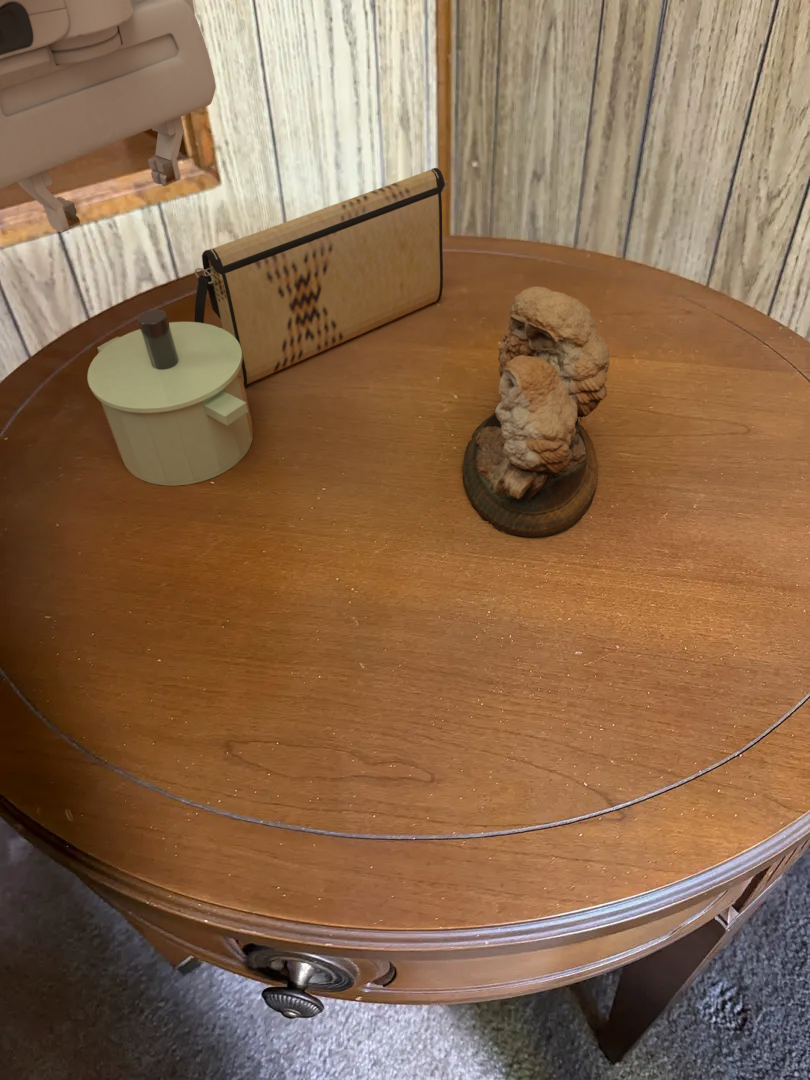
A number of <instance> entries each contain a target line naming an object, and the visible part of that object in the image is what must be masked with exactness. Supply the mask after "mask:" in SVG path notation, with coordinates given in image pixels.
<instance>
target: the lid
mask: <svg viewBox="0 0 810 1080" xmlns="http://www.w3.org/2000/svg"><path fill="white" fill-rule="evenodd" d="M137 322H138V323H137V324H138V326H139V329H136V330H133V331H131V332H128V333H126V334H124V335H122V336H119V337H120V338H118V339H116V340H115V341H113V342H111V343H110V344H109V345H107V346H106V347H105V348H104V349H102V350H101V351H100V352H98V353H97V354H96V355H95V357H94V358H93V359H92V361H91V362H90V365H89V367H88V370H87V374H86V375H87V377H86V378H87V383H88V387H89V390H90V391H91V393H92V395H93V396H94V397H95V398H96V399H97V400H98V401H99V402H100V401H101V402H102V403H104V404H106V405H108V406H110V407H112V408H115V409H118V410H122V411H127V412H135V413H158V412H165V411H172V410H176V409H181V408H184V407H188V406H191V405H194V404H196V403H199V402H201V401H203V400H206V399H208V398H210V397H211V396H213V395H215V394H217V393H218V392H220V391H221V390H222V389H224V388H225V387H226V386H227V385H228V384H230V383H231V382H232V380H233V379H234V378H235V377H236V375H237V374H238V372H239V370H240V368H241V366H242V361H243V355H242V350H241V346H240V344H239V342H238V341H237V339H236V338H235V337H234V336H233V335H232V334H230V333H229V332H227V331H226V330H224V329H223V327H219V326H217V325H213V324H210V323H205V322H204V323H199V322H194V321H172V322H169V319H168V313H166V311H164V310H162V309H149V310H145V311H143V312H142V313H140V314H138V317H137Z"/></svg>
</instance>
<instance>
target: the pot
mask: <svg viewBox="0 0 810 1080" xmlns="http://www.w3.org/2000/svg"><path fill="white" fill-rule="evenodd" d="M120 337H121V336H116V337H114V338H112V339H110V340H109V341H106V342H104V343H103V344H101V345H99V346H97V347H96V348H97V351H98V353H99V352H100V351H101V350H102V349H104V348H105V347H106V346H107V345H109V344H110V343H111V342H113V341H115V340H116V339H118V338H120ZM99 403H100V405H101V409H102V411H103V413H104V416H105V419H106V421H107V425H108V427H109V429H110V432H111V435H112V437H113V438H112V439H113V440H114V441H113V442H114V444H115V446H116V448H117V452H118V454H119V456H120V458H121V461H122V463H123V466H124V467H125V468H126V470H127V471H128V472H129V473H130V474H131V475H133V476H134V477H135V478H137V479H138V480H140V481H143V482H146V483H149V484H152V485H157V486H158V485H159V486H167V487H169V486H170V487H175V486H178V487H179V486H187V485H188V486H189V485H193V484H197V483H202V482H205V481H207V480H211V479H213V478H216V477H218V476H220V475H222V474H224V473H226V472H227V471H229V470H230V469H232V468H233V467H234V466H236V465H237V464H238V463H239V462H241V461H242V459H243V458H244V457H245V455H247V453H248V451H249V450H250V449H251V445H252V443H253V438H254V430H253V419H252V415H251V411H250V407H249V406H250V405H249V402H248V396H247V392H246V387H244V383H243V378H242V374H241V369H240V370H239V372H238V374H237V375H236V377H235V378H234V379H233V380H232V382H231V383H230V384H228V385H227V386H226V387H225V388H224V389H222V390H221V391H220V392H218V393H217V394H215V395H213V396H211V397H210V398H208V399H206V400H203V401H201V402H199V403H196V404H194V405H191V406H188V407H184V408H181V409H176V410H172V411H165V412H158V413H135V412H127V411H122V410H118V409H115V408H112V407H110V406H108V405H106V404H104V403H102V402H101V401H100V400H99Z"/></svg>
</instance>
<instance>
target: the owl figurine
mask: <svg viewBox="0 0 810 1080" xmlns="http://www.w3.org/2000/svg"><path fill="white" fill-rule="evenodd" d="M509 317H510V318H509V320H508V328H507V330H505V331H504V334H503V335H501V337H500V343H499V346H498V359H497V361H498V362H499V366H498V373H499V377H500V380H499V382H498V395H499V396H500V397H501V400H500V402H499V403H498V404H496V405H497V406H496V408H495V411H494V413H492V414H491V415H490V416H488V417H487V418H486V419H484V420H483V421H482V422H481V424H479V425H478V426H477V427H476V429H475V430H474V432H473V433H472V435H471V438H470V439H469V440H468V443H467V445H466V448H465V451H464V453H463V460H462V475H463V476H462V481H463V485H464V489H465V492H466V496H467V498H468V500H469V501H470V503H471V505H472V507H473V508H474V509H475V510H476V512H477V513H478V515H479V516H480V517H481V519H484V520H486V521H488V522H489V523H492V524H493V527H494V528H496V529H498V530H499V531H501V532H503V533H505V534H508V535H515V536H520V537H521V536H522V537H524V538H525V537H526V538H544V537H548V536H554V535H556V534H560V533H564V532H566V531H568V530H569V529H570V528H572V527H574V526H575V525H576V524H577V523H578V522H579V521H580V520H581V519H582V518H583V516H584V515H585V514H586V512H587V511H588V510H589V508H590V506H591V505H592V503H593V501H594V496H595V494H596V492H597V491H596V490H597V485H598V479H599V478H598V477H599V465H598V458H597V453H596V449H595V446H594V442H593V441H592V438H591V436H590V435H589V434H588V431H587V429H585V427H584V426H583V425H582V424H581V423H580V421H582V419H583V418H585V417H588V416H589V415H590V414H591V413H592V412H593V411H594V410H596V409H597V407H598V406H599V404H600V403H601V401H603V400H605V398H606V397H607V395H608V392H607V391H608V388H607V386H606V382H607V381H608V377H607V374H608V371H609V366H610V363H611V361H610V351H609V346H608V344H607V341H606V340H605V339H604V338H603V336H601V335H599V334H598V331H597V327H598V326H597V322H596V320H595V318H593V315H592V313H591V311H590V308H589V307H587V305H585V304H584V303H582V301H580V300H578V299H577V297H576V298H575V297H573V296H570V294H566V293H564V292H560V291H553V290H551V288H548V287H545V286H538V285H535V286H531V287H528V288H525V289H523V290H521V291H520V292H519V293H518V294H517V295H515V296H514V298H513V302H512V304H511V308H510V311H509Z"/></svg>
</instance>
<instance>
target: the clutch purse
mask: <svg viewBox="0 0 810 1080" xmlns="http://www.w3.org/2000/svg"><path fill="white" fill-rule="evenodd" d="M448 186H449V182H448V180H445V179H444V175H443V173H442V170H440V169H439V167H433V168H430V169H429V170H426V171H424V172H421V173H418V174H416V175H412V176H410V177H407V178H404V179H401V180H398V181H396V182H393V183H389V184H388V185H385V186H382V187H379V188H377V189H373V190H371V191H368V192H366V193H363V194H360V195H357V196H355V197H352V198H349V199H346V200H343V201H340V202H337V203H334V204H332V205H329V206H326V207H324V208H321V209H318V210H316V211H312V212H310V213H307V214H304V215H302V216H299V217H296V218H294V219H290V220H288V221H285V222H282V223H279V224H277V225H274V226H271V227H268V228H265V229H263V230H260V231H257V232H255V233H254V232H253V233H252V234H251V233H250V234H249V235H246V236H243V237H240V238H238V239H236V240H232V241H230V242H226V243H224V244H221V245H219V246H216V247H213V248H210V249H205V250H204V251H202V254H201V263H202V267H197V268H195V269H194V275H195V276H196V278H197V287H196V293H195V301H194V317H193V318H194V321H193V322H199V323H205V311H206V301H207V293H208V296H209V299H210V300H209V301H210V306H211V309H212V310H213V312H214V314H215V315H216V316H217V317H218V318H219V320H220V323H221V328H222V329H224V330H226V331H227V332H229V333H230V334H232V335H233V336H234V337H235V338H236V339H237V341H238V342H239V344H240V346H241V350H242V355H243V361H242V366H241V368H240V369H241V374H242V378H243V383H244V387H245V388H246V387H247V385H249V384H252V383H254V382H256V381H258V380H261V379H263V378H266V377H268V376H270V375H272V374H275V373H277V372H279V371H281V370H283V369H286V368H288V367H290V366H293V365H294V364H297V363H300V362H302V361H304V360H306V359H308V358H310V357H313V356H315V355H318V354H320V353H323V352H324V351H326V350H329V349H331V348H333V347H336V346H338V345H341V344H342V343H344V342H346V341H347V342H348V341H349V340H352V339H353V338H356V337H358V336H360V335H362V334H365V333H367V332H369V331H372V330H374V329H376V328H378V327H380V326H383V325H386V324H389V322H392V321H395V320H397V319H399V318H401V317H404V316H406V315H408V314H411V313H413V312H415V311H417V310H420V309H422V308H424V307H426V306H429V305H431V304H433V303H439V302H440V300H441V298H442V295H443V288H444V287H443V286H444V262H443V261H444V258H443V257H444V256H443V254H444V253H443V200H442V199H443V197H442V193H443V192H445V190H446V189H447V188H448ZM198 271H202V272H203V274H204V275H202V274H201V275H199V274H198Z"/></svg>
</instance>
